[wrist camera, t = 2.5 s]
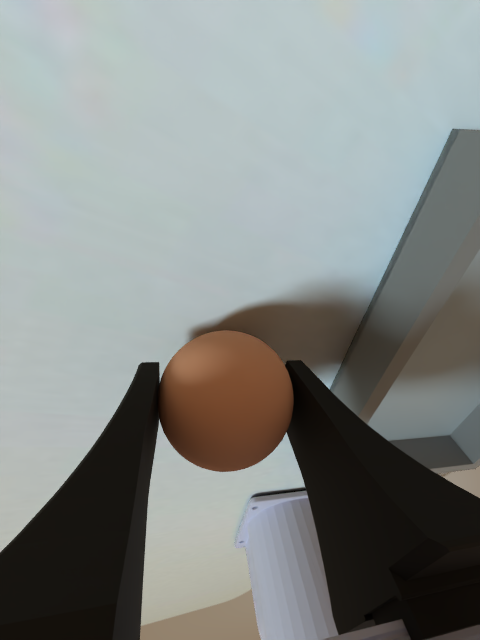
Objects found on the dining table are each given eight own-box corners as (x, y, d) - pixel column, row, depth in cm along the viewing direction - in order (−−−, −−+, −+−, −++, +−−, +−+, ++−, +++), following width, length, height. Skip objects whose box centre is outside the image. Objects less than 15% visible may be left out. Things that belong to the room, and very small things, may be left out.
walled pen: (449, 437, 23) (475, 468, 21) (300, 450, 20) (314, 488, 18) (693, 179, 12) (794, 192, 10) (452, 128, 9) (527, 133, 7)
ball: (261, 388, 15) (293, 490, 11) (161, 392, 14) (154, 508, 10) (284, 307, 12) (337, 404, 8) (159, 303, 11) (149, 414, 7)
